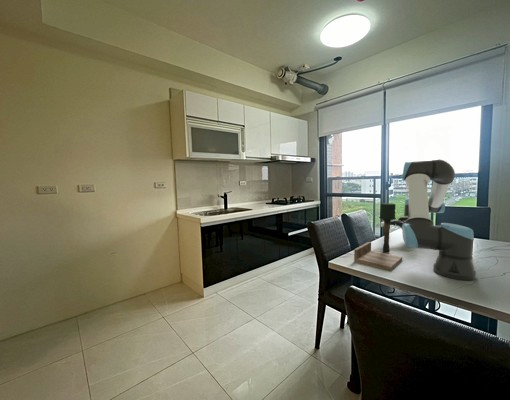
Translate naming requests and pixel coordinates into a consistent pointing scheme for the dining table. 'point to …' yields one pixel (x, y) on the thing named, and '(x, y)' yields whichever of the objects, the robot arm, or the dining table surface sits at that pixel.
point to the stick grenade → (387, 222)
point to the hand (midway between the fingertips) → (392, 226)
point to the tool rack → (375, 257)
